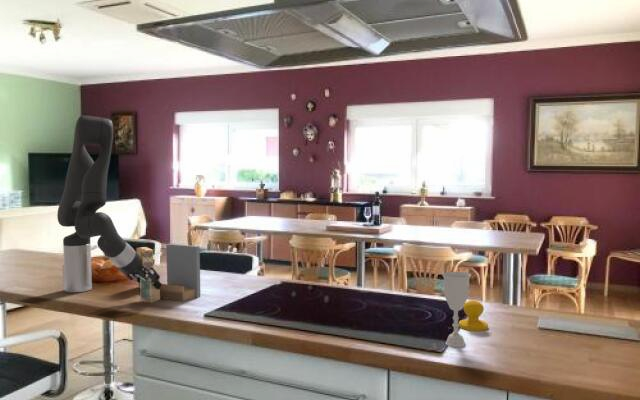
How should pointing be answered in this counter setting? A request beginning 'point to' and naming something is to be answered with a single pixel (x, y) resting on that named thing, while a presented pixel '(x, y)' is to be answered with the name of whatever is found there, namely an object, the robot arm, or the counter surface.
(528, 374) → the counter surface
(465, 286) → the chalice
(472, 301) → the doorknob
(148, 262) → the candy box
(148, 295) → the cabinet block
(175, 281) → the cleat board
